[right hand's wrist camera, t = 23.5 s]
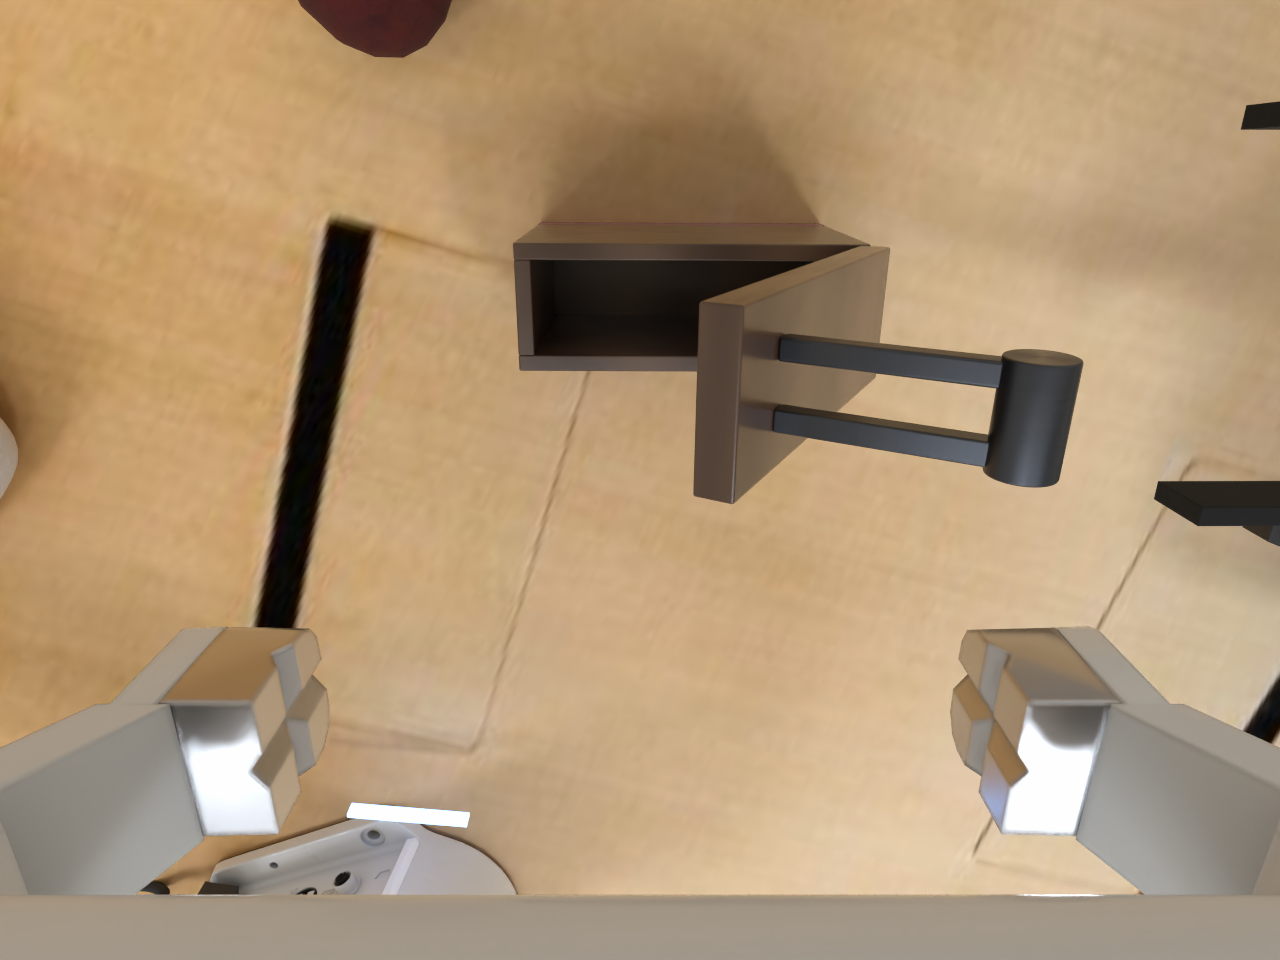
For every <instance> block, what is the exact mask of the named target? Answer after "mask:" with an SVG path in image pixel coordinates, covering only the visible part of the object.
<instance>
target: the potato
mask: <svg viewBox="0 0 1280 960" xmlns="http://www.w3.org/2000/svg"><path fill="white" fill-rule="evenodd" d="M298 1H299V3H300V5H301V6H302V7H303V8H304V9H305V10H306V11H307V12H308V13H309V14H310V15H311V16H312V17H313V18H315V19H316V20H317V21H318V22H319V23H320V24H321V25H322V26H323V27H324V28H325V29H326V30H327V31H328V32H330V33H331V34H332V35H333V36H334V37H335V38H336V39H337V40H339V41H340V42H342V43H343V44H345V45H348V46H350V47H353V48H355V49H358V50H360V51H362V52H365V53H367V54H370V55H372V56H374V57H402V58H403V57H405V56H407V55H409V54H411V53H413V52H415V51H417V50H418V49H420V48H422V47H424V46H426V45H427V44H428V43H429V41H430V40H431V39H432V37H433V36H434V35H435V33H436V32H437V31H438V29H439V28H440V27H441V26H442V24H443V23H444V22H445V19H446V16H447V13H448V10H449V7H450V4H451V0H298Z"/></svg>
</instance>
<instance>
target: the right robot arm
mask: <svg viewBox="0 0 1280 960" xmlns="http://www.w3.org/2000/svg"><path fill="white" fill-rule="evenodd" d="M320 661H321V654H320V649H319V645H318V640H317V636H316V635H315V634H314V633H313V632H312V631H311V630H310V629H298V628H248V627H232V628H228V627H191V628H187V629H182V630H181V631H180V632H179V633H178V634H177V635H176V636H175V637H174V638H173V639H172V640H171V641H170V642H169V643H168V645H167V646H166V647H165V648H164V649H163V650H162V651H161V652H160V653H159V654H158V655H157V656H156V657H155V658H154V659H153V660H152V661H151V662H150V663H149V664H148V665H147V666H146V667H145V668H144V669H143V670H142V671H141V672H140V673H139V674H138V675H137V676H136V677H135V678H134V679H133V681H132V682H131V683H130V684H129V685H128V686H127V687H126V688H125V689H124V690H123V691H122V692H121V693H120V694H119V695H118V696H117V697H116V698H115V699H114V700H113V701H112V702H111V703H110V704H95V705H93V706H91V707H89V708H87V709H84V710H82V711H80V712H78V713H76V714H73V715H71V716H69V717H67V718H65V719H62V720H60V721H58V722H56V723H54V724H51V725H49V726H47V727H45V728H43V729H41V730H38V731H36V732H34V733H32V734H30V735H27V736H25V737H23V738H21V739H19V740H16V741H14V742H12V743H10V744H8V745H5V746H3V747H1V748H0V960H1280V748H1279V747H1277V746H1274V745H1272V744H1270V743H1268V742H1266V741H1263V740H1261V739H1259V738H1257V737H1255V736H1252V735H1250V734H1248V733H1246V732H1244V731H1242V730H1239V729H1237V728H1235V727H1233V726H1231V725H1228V724H1226V723H1224V722H1222V721H1220V720H1217V719H1215V718H1213V717H1211V716H1209V715H1207V714H1204V713H1202V712H1200V711H1198V710H1196V709H1193V708H1191V707H1189V706H1187V705H1185V704H1170V703H1169V702H1168V701H1167V700H1166V699H1165V698H1164V697H1163V696H1162V695H1161V694H1160V693H1159V692H1158V691H1157V690H1156V689H1155V688H1154V687H1153V686H1152V685H1151V684H1150V682H1149V681H1148V680H1147V679H1146V678H1145V677H1144V676H1143V675H1142V674H1141V673H1140V672H1139V671H1138V670H1137V669H1136V668H1135V667H1134V666H1133V665H1132V664H1131V663H1130V662H1129V661H1128V660H1127V659H1126V658H1125V657H1124V656H1123V655H1122V654H1121V653H1120V652H1119V650H1118V649H1117V648H1116V647H1115V646H1114V645H1113V644H1112V643H1111V642H1110V641H1109V640H1108V639H1107V638H1106V637H1105V636H1104V635H1103V634H1102V633H1101V632H1100V631H1099V630H1097V629H1094V628H1091V627H1089V626H1084V627H1057V628H1028V629H989V630H967V632H966V634H965V636H964V638H963V640H962V643H961V648H960V653H959V661H960V662H961V664H962V666H963V667H964V669H965V670H966V672H967V674H968V675H967V676H966V677H965V678H964V679H963V680H962V681H961V682H960V683H959V684H958V685H957V686H956V687H955V688H954V689H953V695H952V703H951V711H950V714H951V726H952V735H953V738H954V742H955V745H956V748H957V751H958V753H959V755H960V757H961V759H962V761H963V763H964V765H965V766H967V767H968V768H970V769H971V770H973V771H974V772H976V773H977V774H979V775H980V776H981V782H980V787H979V793H980V795H981V797H982V799H983V801H984V803H985V804H986V806H987V808H988V810H989V812H990V814H991V815H992V817H993V819H994V821H995V823H996V825H997V827H998V828H999V830H1000V832H1001V834H1016V835H1053V836H1077V837H1076V840H1077V841H1078V842H1080V843H1081V844H1082V845H1083V846H1085V847H1086V848H1087V849H1088V850H1090V851H1091V852H1092V853H1093V854H1095V855H1096V856H1097V857H1098V858H1100V859H1101V860H1102V861H1104V862H1105V863H1106V864H1107V865H1109V866H1110V867H1111V868H1112V869H1114V870H1115V871H1116V872H1117V873H1119V874H1120V875H1121V876H1122V877H1124V878H1125V879H1126V880H1127V881H1129V882H1130V883H1131V884H1132V885H1134V886H1135V887H1136V888H1137V889H1139V890H1140V891H1141V892H1142V893H1144V894H1145V895H517V894H516V892H515V889H514V887H513V885H512V883H511V882H510V880H509V878H508V877H507V876H506V874H505V873H504V872H503V871H502V869H501V868H500V867H499V866H498V865H497V864H496V863H494V862H493V861H492V860H491V859H490V858H488V857H487V856H486V855H484V854H483V853H481V852H480V851H478V850H476V849H475V848H473V847H471V846H469V845H467V844H465V843H462V842H460V841H457V840H454V839H451V838H448V837H445V836H442V835H439V834H436V833H434V832H431V831H429V830H427V829H426V828H424V827H423V826H422V825H421V824H433V825H446V826H458V827H467V823H468V819H469V813H468V812H456V811H443V810H431V809H419V808H407V807H395V806H383V805H371V804H358V803H352V804H351V806H350V808H349V811H348V813H347V817H348V818H354V819H351V820H348V821H345V822H342V823H339V824H335V825H332V826H329V827H326V828H323V829H320V830H317V831H314V832H310V833H307V834H304V835H301V836H298V837H295V838H292V839H289V840H285V841H282V842H279V843H276V844H273V845H270V846H267V847H263V848H260V849H257V850H254V851H251V852H248V853H245V854H242V855H238V856H235V857H232V858H229V859H226V860H224V861H221V862H219V863H218V864H217V865H216V866H215V868H214V871H213V873H212V875H211V878H210V881H209V882H207V881H206V882H205V883H204V885H203V886H202V888H201V890H200V891H199V893H198V895H169V894H170V890H169V888H168V887H167V886H166V885H164V884H162V883H160V882H152V881H153V880H154V879H155V878H157V877H158V876H159V875H160V874H162V873H163V872H164V871H165V870H167V869H168V868H169V867H171V866H172V865H173V864H174V863H176V862H177V861H178V860H179V859H181V858H182V857H183V856H184V855H186V854H187V853H188V852H189V851H191V850H192V849H193V848H194V847H196V846H197V845H198V844H199V843H201V842H202V841H203V840H204V837H203V836H227V835H262V834H279V832H280V830H281V829H282V827H283V825H284V823H285V821H286V819H287V817H288V816H289V814H290V812H291V810H292V808H293V806H294V804H295V803H296V801H297V799H298V797H299V795H300V793H301V787H300V782H299V776H300V775H301V774H303V773H304V772H306V771H307V770H309V769H310V768H312V767H313V766H315V765H316V763H317V761H318V759H319V757H320V755H321V753H322V751H323V749H324V746H325V741H326V737H327V732H328V728H329V701H328V695H327V689H326V688H325V687H324V686H323V685H322V684H321V683H320V682H319V681H318V680H317V679H316V678H315V677H314V676H313V675H312V674H313V672H314V670H315V669H316V667H317V665H318V664H319V662H320ZM419 823H421V824H419ZM373 830H375V831H373ZM376 831H377V832H376ZM139 891H146V892H151V893H154V894H156V895H135V894H137V893H138V892H139Z"/></svg>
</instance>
